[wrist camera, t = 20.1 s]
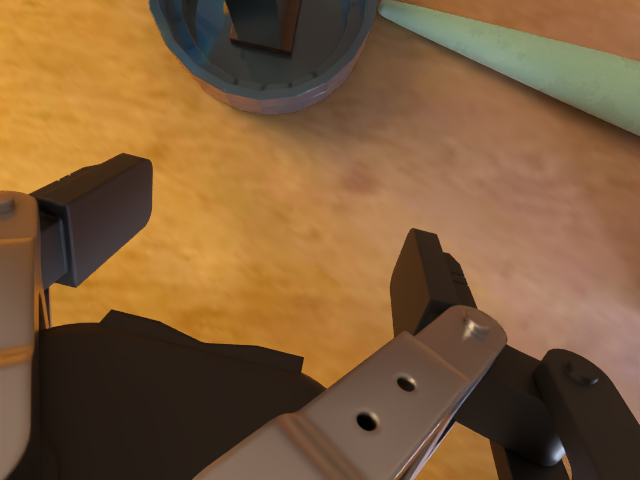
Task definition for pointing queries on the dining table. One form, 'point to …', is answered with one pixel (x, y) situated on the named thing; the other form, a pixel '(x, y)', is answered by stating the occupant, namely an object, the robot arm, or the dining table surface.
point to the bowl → (266, 52)
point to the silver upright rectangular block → (263, 23)
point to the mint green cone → (535, 61)
